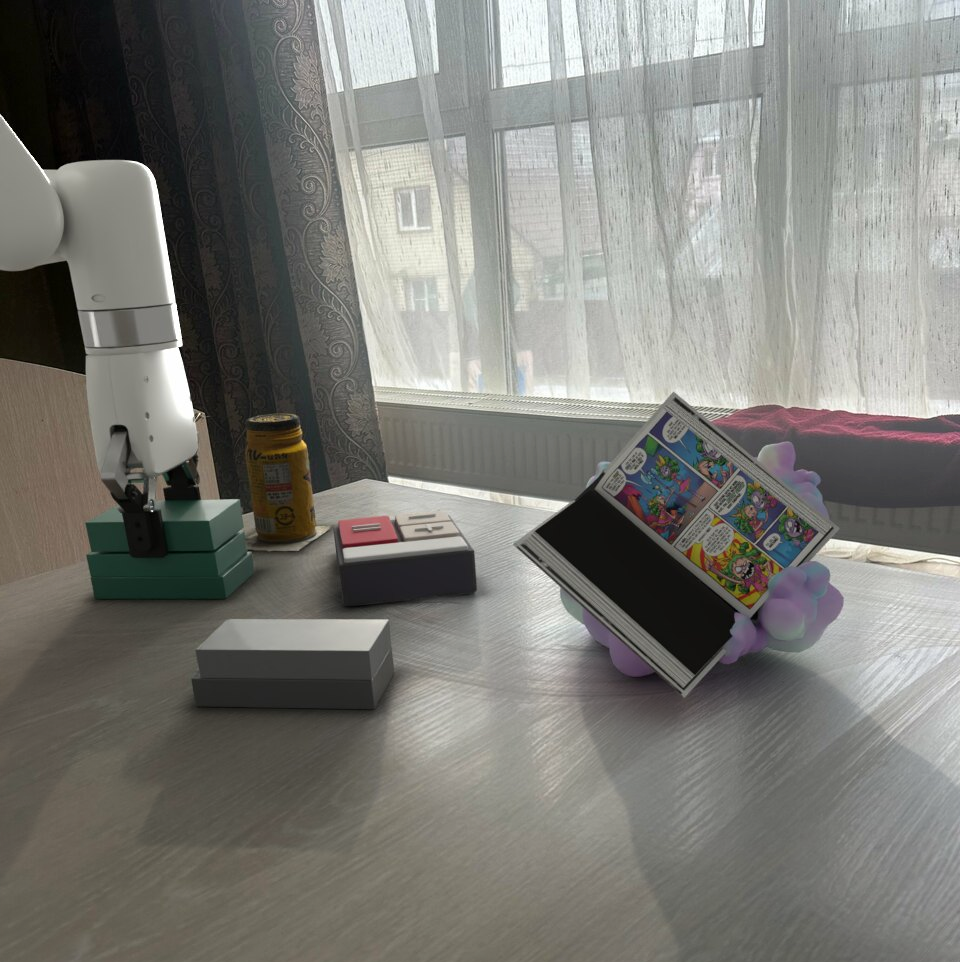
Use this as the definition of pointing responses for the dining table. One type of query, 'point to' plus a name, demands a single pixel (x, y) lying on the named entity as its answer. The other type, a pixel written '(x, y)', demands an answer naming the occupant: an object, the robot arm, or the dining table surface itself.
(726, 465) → the comic strip frame
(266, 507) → the condiment
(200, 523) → the slim green book
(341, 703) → the grey books
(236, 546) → the green books
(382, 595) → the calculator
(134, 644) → the dining table surface
